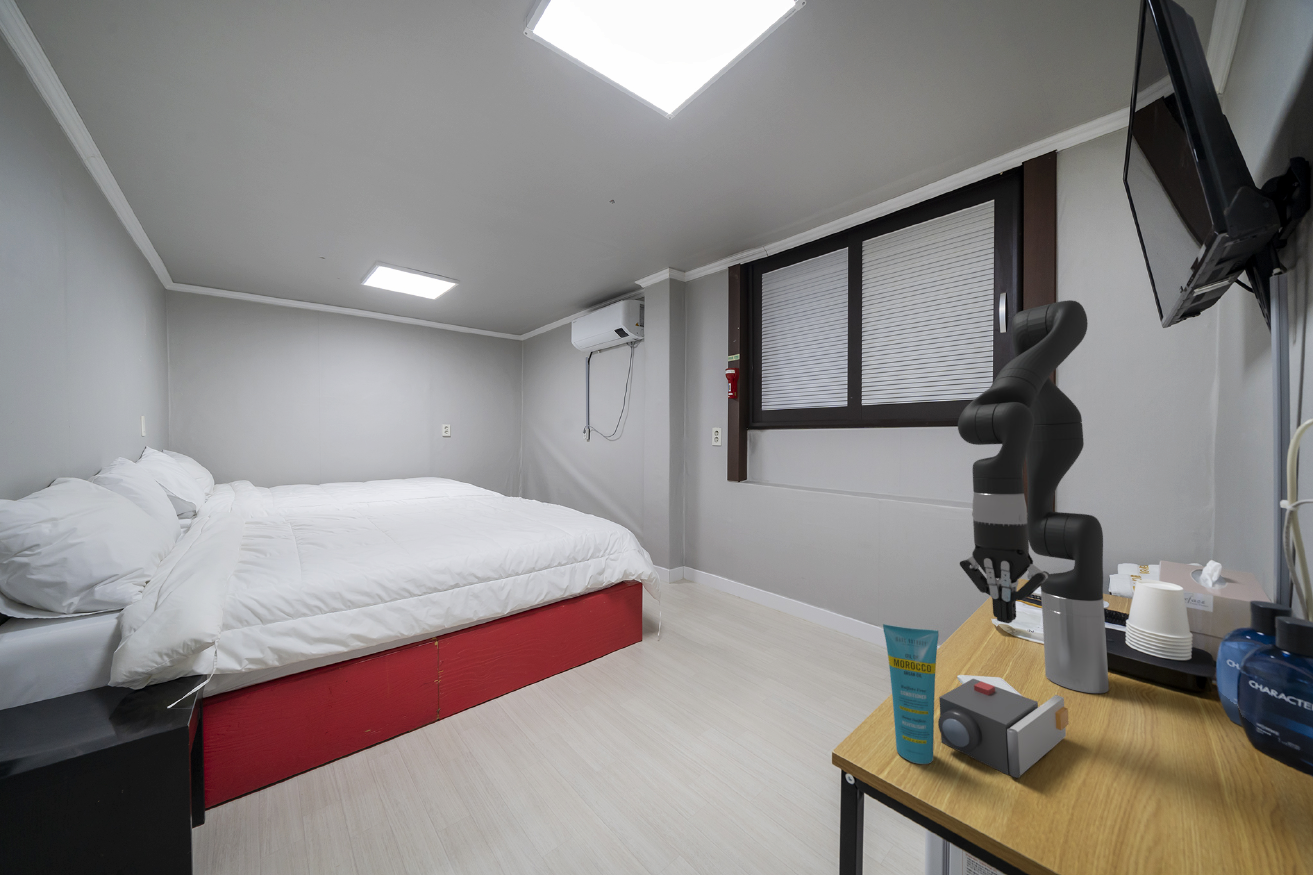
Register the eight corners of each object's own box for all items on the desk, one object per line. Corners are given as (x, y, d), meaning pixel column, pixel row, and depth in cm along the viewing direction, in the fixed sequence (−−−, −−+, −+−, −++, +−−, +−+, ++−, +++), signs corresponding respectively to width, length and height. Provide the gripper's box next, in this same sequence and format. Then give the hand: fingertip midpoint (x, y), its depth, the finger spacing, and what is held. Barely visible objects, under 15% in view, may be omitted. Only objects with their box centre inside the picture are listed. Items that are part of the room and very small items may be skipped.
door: (1057, 732, 74) (1055, 694, 74) (1070, 738, 72) (1068, 699, 73) (1007, 773, 65) (1005, 730, 65) (1022, 780, 63) (1019, 736, 63)
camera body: (975, 720, 78) (973, 673, 79) (1040, 748, 71) (1037, 696, 71) (933, 747, 71) (931, 696, 72) (1000, 781, 64) (997, 723, 64)
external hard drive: (1002, 685, 91) (1043, 720, 79) (957, 682, 93) (989, 716, 80) (1002, 677, 91) (1042, 711, 79) (956, 674, 93) (989, 707, 80)
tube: (889, 758, 69) (884, 629, 70) (886, 740, 73) (881, 618, 74) (947, 770, 66) (941, 635, 67) (940, 750, 71) (934, 623, 72)
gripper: (1056, 521, 75) (1062, 628, 75) (968, 513, 87) (972, 607, 86) (1037, 525, 71) (1043, 639, 71) (947, 517, 83) (951, 614, 82)
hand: (1004, 621), depth 78 cm, fingers closed
